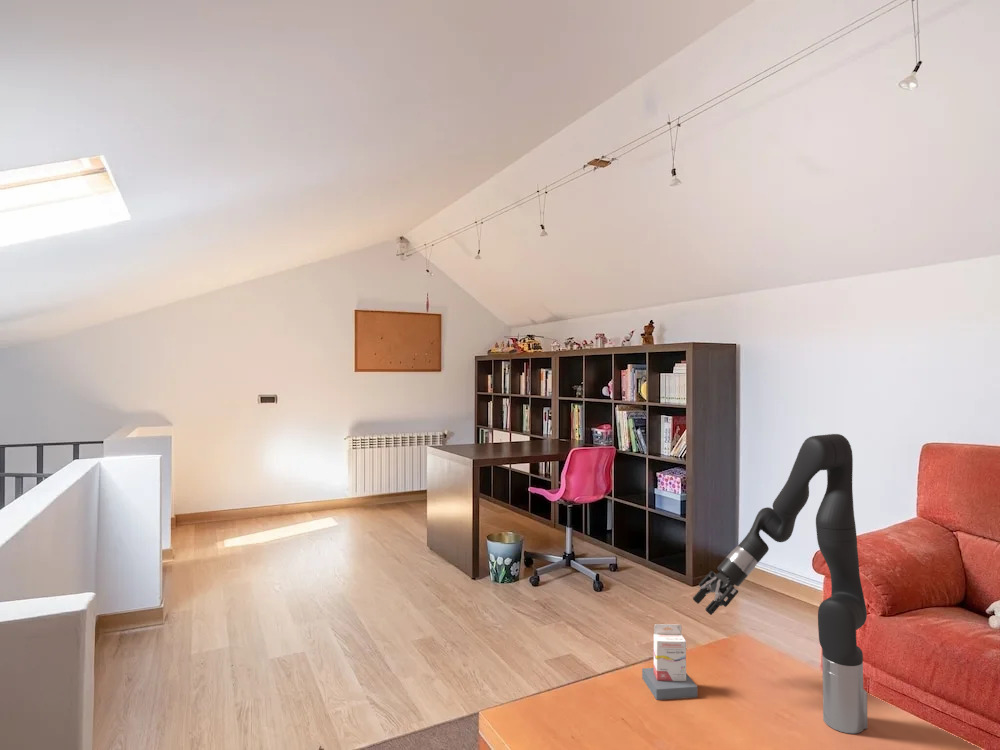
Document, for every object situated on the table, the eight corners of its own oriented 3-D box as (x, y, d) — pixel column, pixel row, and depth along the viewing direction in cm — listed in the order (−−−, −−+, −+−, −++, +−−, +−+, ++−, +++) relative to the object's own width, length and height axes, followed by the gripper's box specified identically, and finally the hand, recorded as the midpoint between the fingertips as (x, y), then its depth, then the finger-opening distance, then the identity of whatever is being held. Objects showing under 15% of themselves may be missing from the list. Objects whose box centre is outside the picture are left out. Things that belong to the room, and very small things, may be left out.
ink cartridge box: (657, 681, 174) (656, 630, 173) (653, 672, 179) (652, 623, 178) (687, 681, 173) (686, 630, 173) (682, 673, 178) (681, 623, 178)
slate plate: (680, 675, 182) (680, 666, 182) (697, 697, 170) (697, 686, 170) (642, 678, 181) (642, 668, 181) (656, 700, 169) (656, 689, 169)
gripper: (717, 550, 185) (682, 589, 183) (740, 564, 170) (703, 607, 169) (734, 566, 185) (699, 606, 184) (759, 582, 171) (721, 625, 170)
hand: (701, 606), depth 176 cm, fingers open, 8 cm apart
